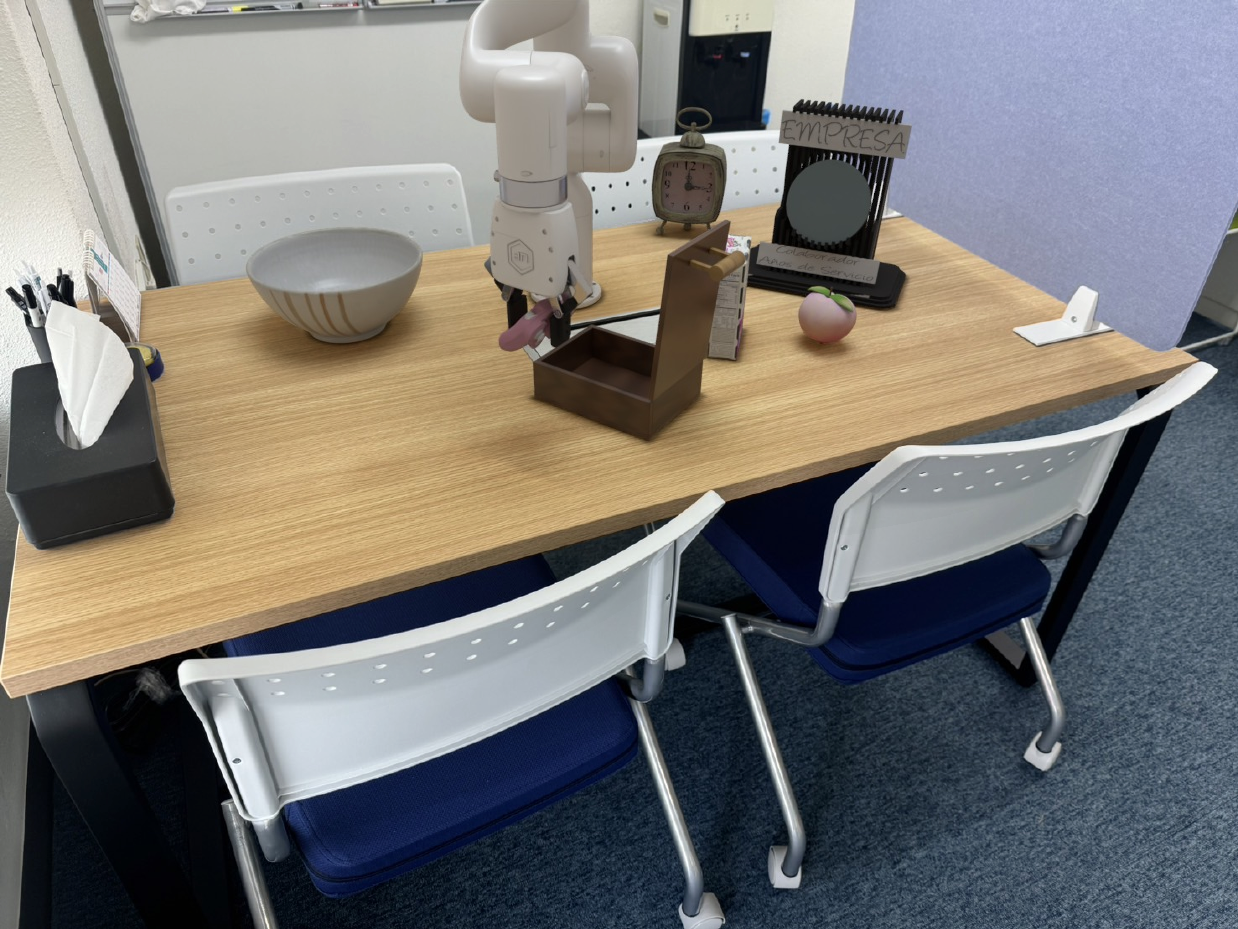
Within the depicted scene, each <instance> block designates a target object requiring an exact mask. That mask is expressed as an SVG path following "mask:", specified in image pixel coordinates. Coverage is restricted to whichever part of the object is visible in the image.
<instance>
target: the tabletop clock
mask: <svg viewBox="0 0 1238 929" xmlns="http://www.w3.org/2000/svg"><path fill="white" fill-rule="evenodd" d="M687 112H699V113H703V114H705V115H706V116H707V117H708V119H709V122H708V123H707V124H705V125H702V126H697V123H696V122H695V121H693V122H691V123H690V125H685V124H683V123H681V122H680V121H679V118H680V116H681V115H683V114H684V113H687ZM675 121H676V124H677V125H678V126H679V127H680V128H682V129H684V130H688V131H686V132H684V133H683V134H682V136H681V138H680V139H679V141H671V142H668V143H667V142H666V143H665V144H663V145H662V147H661V149H660V151H659V153H658V155H657V157H656V160H655V163H654V166H653V172H652V180H651V202H652V209H653V214H654V216H655V217H656V218H658V219H659V220H661V221H662V223H661V226H658V227H657V228H656V230H655V232H656V234H657V235H658V236H662V235H663V234H664V232H665V230H664V227H665V226H666V225H667V223H675V224H682V225H683V229H685V230H690V229H692V225H705V226H706V229H707V231H708V230H709V229H711V228H712V227H711V224H712V223H715V222H717V220H718V219H719V217H720V214H721V211H722V207H723V202H724V197H725V191H726V186H727V180H728V174H727V173H728V163H727V162H728V161H727V155H726V151H725V149H724V148H723V147H721V146H719V145H717V144H714V143H709V142H708V143H707V142H706V138H705V137H704V135H703V134H702V133H701V132H700V131H702V130H703V131H704V130H706V129H707V128H709V127H710V126H711V125H712V123H713V118H712V115H711V114H710V113H709V111H707V110H706V109H705V108H701V107H696V106H695V107H693V106H691V107H685V108H683V109H681V110H679V111H678V113H677V114H676V117H675Z"/></svg>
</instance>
